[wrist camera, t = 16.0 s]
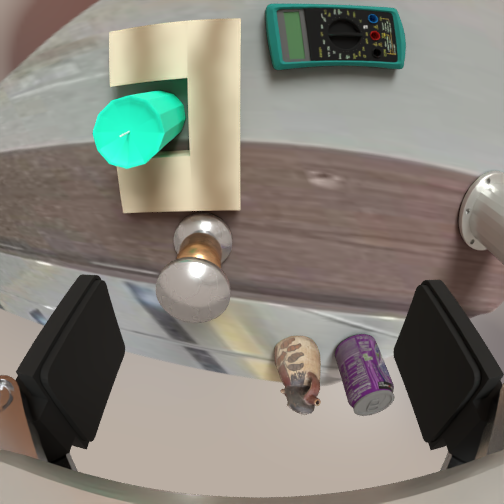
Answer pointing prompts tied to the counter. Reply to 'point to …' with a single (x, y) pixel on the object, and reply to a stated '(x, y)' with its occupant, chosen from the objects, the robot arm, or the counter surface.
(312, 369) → the figurine
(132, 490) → the robot arm
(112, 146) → the candle
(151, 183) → the notched board
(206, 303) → the bobbin post
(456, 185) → the counter surface
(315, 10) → the digital multimeter
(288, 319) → the counter surface
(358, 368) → the beverage can
